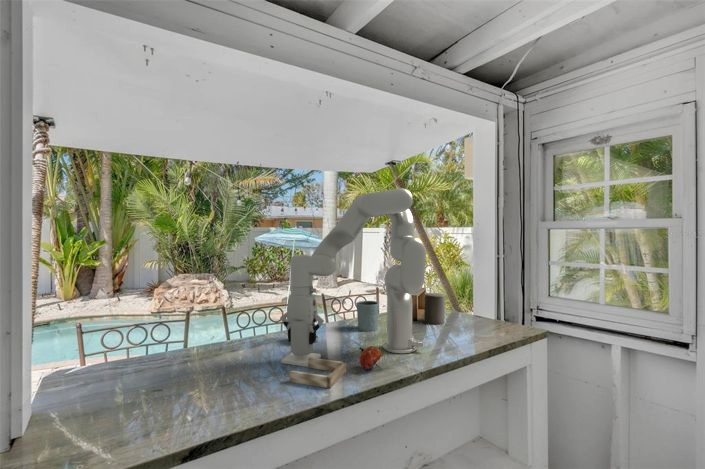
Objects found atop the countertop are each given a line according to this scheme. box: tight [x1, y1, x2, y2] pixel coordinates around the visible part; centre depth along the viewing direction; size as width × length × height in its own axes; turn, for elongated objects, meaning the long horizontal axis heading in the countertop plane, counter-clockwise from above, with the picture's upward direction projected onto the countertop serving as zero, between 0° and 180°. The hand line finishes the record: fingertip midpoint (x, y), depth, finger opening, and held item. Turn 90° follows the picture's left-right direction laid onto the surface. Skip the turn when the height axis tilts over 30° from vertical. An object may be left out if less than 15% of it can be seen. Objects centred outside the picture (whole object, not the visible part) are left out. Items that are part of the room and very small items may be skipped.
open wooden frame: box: [289, 358, 348, 389], centre depth 113 cm, size 13×13×3 cm
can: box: [290, 320, 314, 356], centre depth 128 cm, size 8×8×12 cm
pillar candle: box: [423, 291, 446, 326], centre depth 180 cm, size 10×10×15 cm
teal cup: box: [356, 300, 379, 333], centre depth 168 cm, size 10×10×12 cm
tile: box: [280, 352, 322, 368], centre depth 128 cm, size 10×10×1 cm
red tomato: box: [358, 345, 383, 371], centre depth 120 cm, size 7×7×10 cm
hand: (301, 341), depth 128 cm, fingers closed on can, 7 cm apart
